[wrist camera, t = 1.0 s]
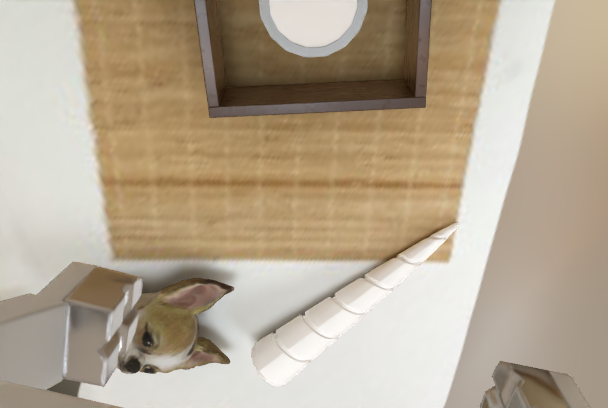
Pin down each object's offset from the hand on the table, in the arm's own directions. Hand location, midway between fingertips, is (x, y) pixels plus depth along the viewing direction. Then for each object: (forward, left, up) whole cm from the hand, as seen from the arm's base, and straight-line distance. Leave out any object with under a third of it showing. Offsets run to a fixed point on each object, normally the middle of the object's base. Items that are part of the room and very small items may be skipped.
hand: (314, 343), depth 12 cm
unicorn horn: (+23, +7, -33) cm, 41 cm away
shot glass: (-4, 0, -33) cm, 34 cm away
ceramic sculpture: (+27, -11, -33) cm, 44 cm away
